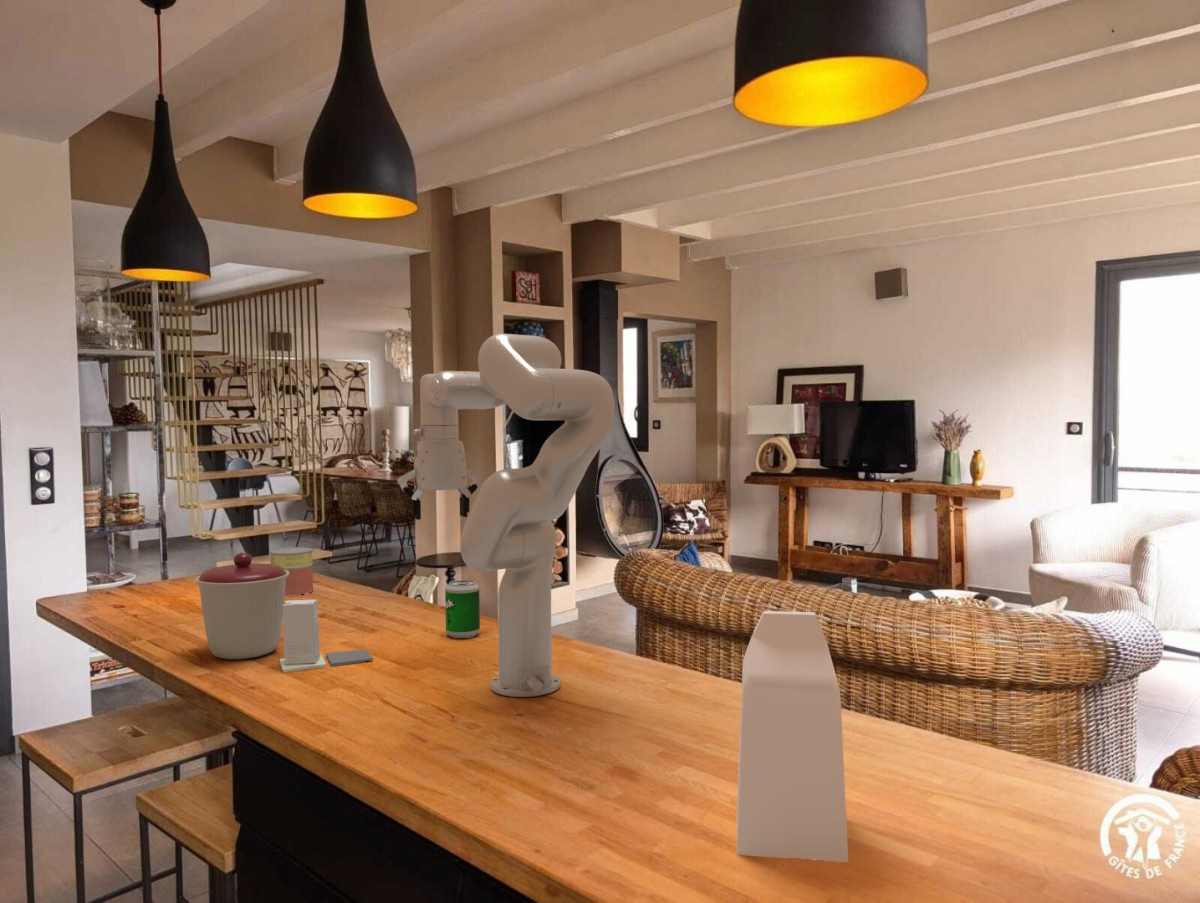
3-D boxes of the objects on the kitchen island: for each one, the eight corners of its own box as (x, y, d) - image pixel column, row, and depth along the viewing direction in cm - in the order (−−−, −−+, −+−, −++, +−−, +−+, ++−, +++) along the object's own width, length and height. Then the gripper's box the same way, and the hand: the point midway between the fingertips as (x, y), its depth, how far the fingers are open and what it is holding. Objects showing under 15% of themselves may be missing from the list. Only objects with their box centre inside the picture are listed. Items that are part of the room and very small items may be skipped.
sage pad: (326, 667, 169) (326, 664, 169) (282, 672, 165) (282, 669, 165) (321, 656, 176) (321, 654, 176) (279, 661, 173) (279, 658, 172)
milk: (736, 854, 96) (736, 623, 94) (736, 808, 107) (736, 600, 106) (848, 862, 94) (849, 626, 93) (836, 814, 105) (837, 603, 104)
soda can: (483, 631, 196) (482, 579, 195) (475, 640, 188) (474, 586, 188) (451, 631, 197) (450, 579, 196) (441, 639, 189) (441, 585, 189)
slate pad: (372, 661, 172) (372, 658, 172) (331, 666, 169) (331, 663, 169) (365, 651, 180) (365, 648, 180) (326, 656, 176) (326, 653, 176)
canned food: (318, 588, 248) (317, 546, 247) (307, 596, 236) (306, 553, 236) (278, 589, 247) (277, 547, 246) (265, 597, 236) (264, 553, 235)
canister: (211, 671, 166) (208, 563, 165) (186, 652, 180) (184, 552, 179) (303, 654, 178) (301, 553, 177) (273, 637, 192) (271, 543, 191)
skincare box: (320, 658, 173) (319, 598, 172) (315, 664, 169) (314, 603, 168) (288, 659, 172) (287, 599, 172) (283, 665, 168) (281, 604, 167)
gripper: (400, 435, 169) (402, 522, 169) (485, 434, 176) (486, 517, 177) (393, 434, 175) (394, 518, 176) (475, 433, 183) (476, 513, 183)
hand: (440, 517), depth 176 cm, fingers open, 9 cm apart
